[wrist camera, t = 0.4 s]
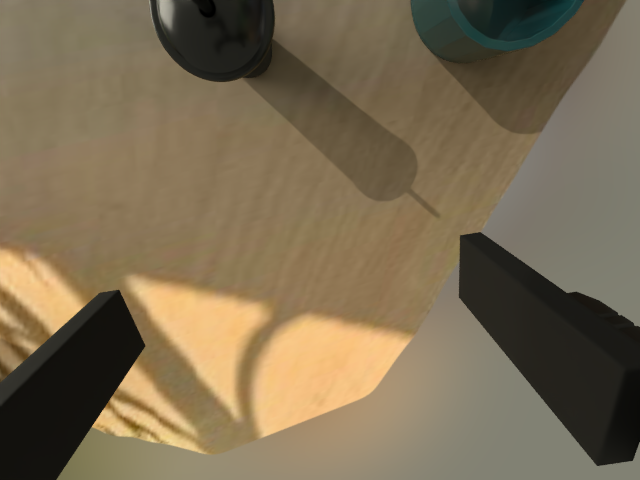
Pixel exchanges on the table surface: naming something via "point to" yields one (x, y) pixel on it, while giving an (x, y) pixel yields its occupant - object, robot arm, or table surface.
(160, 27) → the drinking cup
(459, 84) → the table surface
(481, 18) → the teal cup
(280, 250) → the table surface
